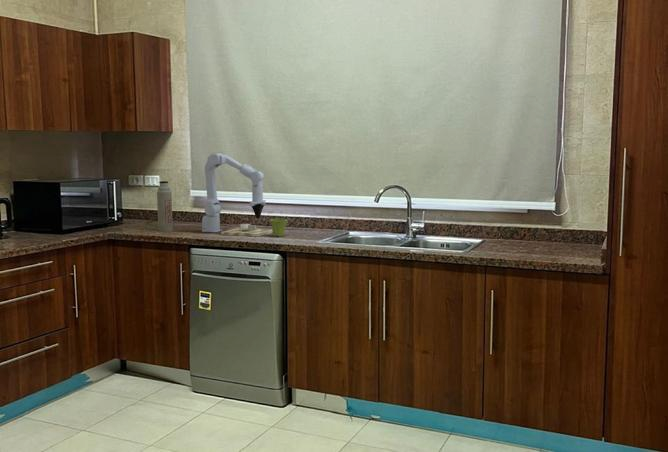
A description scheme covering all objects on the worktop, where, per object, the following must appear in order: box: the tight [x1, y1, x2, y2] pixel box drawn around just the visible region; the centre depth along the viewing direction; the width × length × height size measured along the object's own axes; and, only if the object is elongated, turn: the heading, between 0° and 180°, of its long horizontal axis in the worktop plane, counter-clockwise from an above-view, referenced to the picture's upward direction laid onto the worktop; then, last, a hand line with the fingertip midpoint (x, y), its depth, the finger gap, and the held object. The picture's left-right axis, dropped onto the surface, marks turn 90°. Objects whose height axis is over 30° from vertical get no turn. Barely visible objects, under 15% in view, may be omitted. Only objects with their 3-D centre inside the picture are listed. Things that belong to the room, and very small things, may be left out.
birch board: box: [220, 227, 273, 238], centre depth 370 cm, size 22×18×2 cm
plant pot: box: [269, 218, 288, 237], centre depth 361 cm, size 9×9×9 cm
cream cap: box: [239, 223, 258, 230], centre depth 369 cm, size 10×6×3 cm, turn 56°
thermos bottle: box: [156, 180, 174, 232], centre depth 382 cm, size 8×8×28 cm
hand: (257, 217), depth 372 cm, fingers closed
